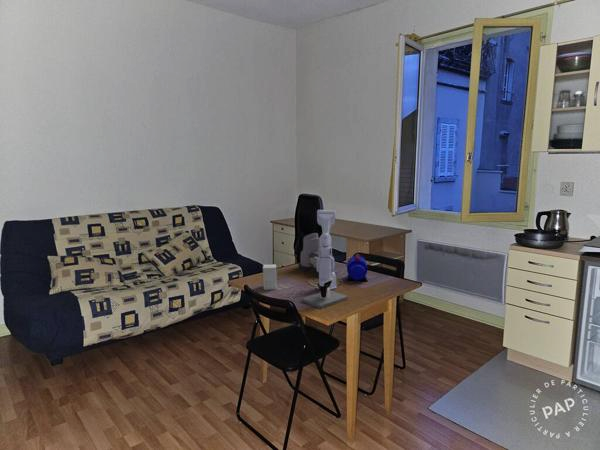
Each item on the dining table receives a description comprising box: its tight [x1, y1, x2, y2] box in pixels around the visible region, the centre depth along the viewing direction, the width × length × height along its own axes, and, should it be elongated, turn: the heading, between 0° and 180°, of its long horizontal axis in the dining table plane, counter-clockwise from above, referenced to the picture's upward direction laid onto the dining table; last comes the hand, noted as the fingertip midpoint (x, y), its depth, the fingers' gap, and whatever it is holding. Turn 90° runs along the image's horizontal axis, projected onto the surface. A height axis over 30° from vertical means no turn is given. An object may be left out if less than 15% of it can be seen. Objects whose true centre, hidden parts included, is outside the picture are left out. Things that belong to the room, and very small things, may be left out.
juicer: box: [296, 232, 338, 277], centre depth 266 cm, size 30×16×24 cm, turn 33°
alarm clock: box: [346, 253, 369, 283], centre depth 248 cm, size 12×12×15 cm
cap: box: [319, 287, 330, 299], centre depth 213 cm, size 5×5×5 cm
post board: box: [300, 289, 349, 309], centre depth 213 cm, size 20×14×5 cm
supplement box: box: [262, 264, 278, 291], centre depth 233 cm, size 7×7×13 cm
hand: (324, 295), depth 213 cm, fingers closed on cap, 5 cm apart
